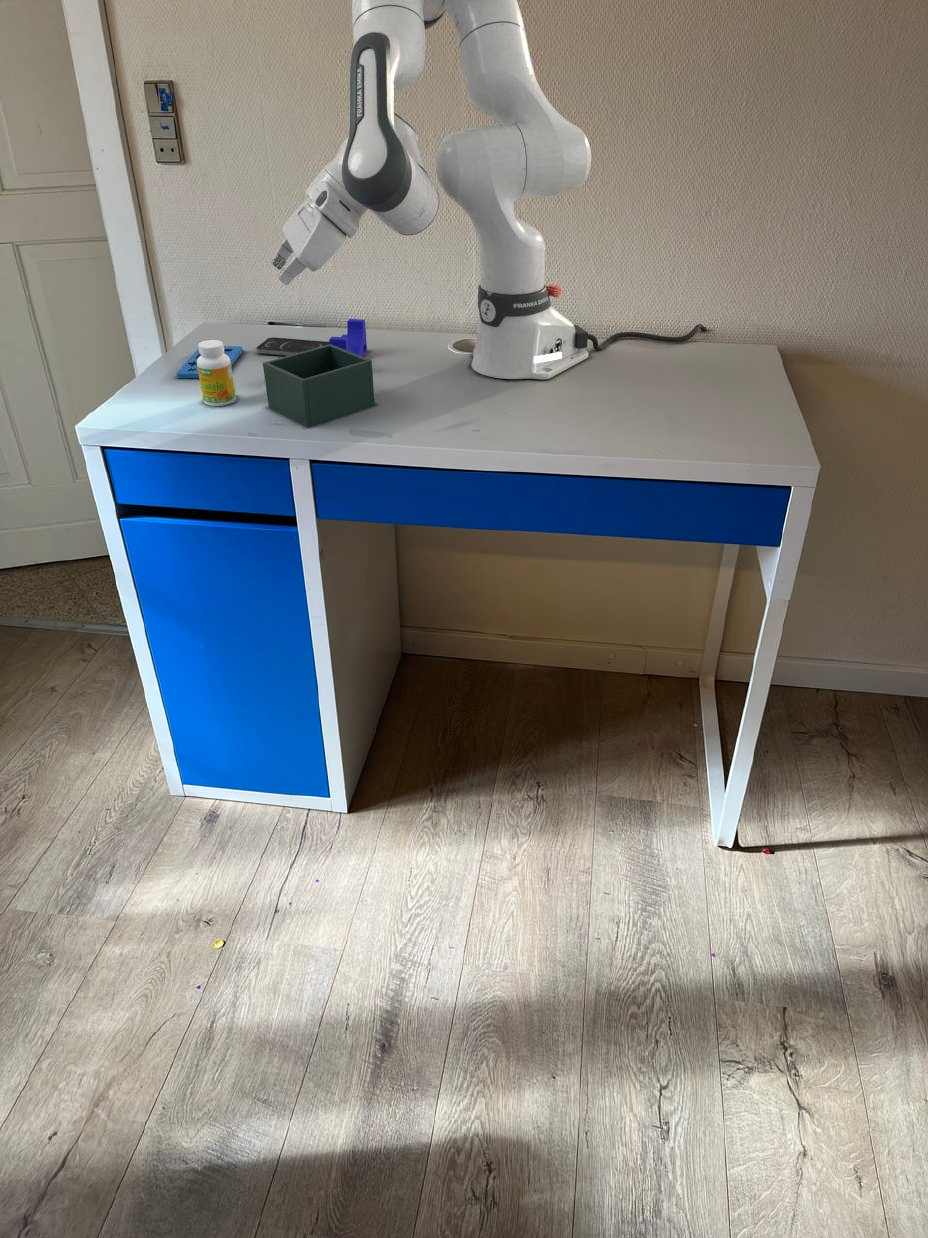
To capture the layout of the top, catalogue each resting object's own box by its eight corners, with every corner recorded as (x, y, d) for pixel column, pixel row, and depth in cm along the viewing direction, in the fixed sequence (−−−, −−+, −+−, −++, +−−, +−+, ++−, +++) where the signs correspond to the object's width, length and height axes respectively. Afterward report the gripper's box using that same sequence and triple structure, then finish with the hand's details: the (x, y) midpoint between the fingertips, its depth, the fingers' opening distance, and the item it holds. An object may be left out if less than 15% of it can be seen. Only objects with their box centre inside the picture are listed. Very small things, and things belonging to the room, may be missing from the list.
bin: (334, 387, 162) (330, 343, 157) (375, 405, 155) (371, 360, 150) (268, 407, 154) (262, 362, 150) (307, 427, 147) (302, 380, 143)
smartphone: (329, 355, 173) (253, 349, 175) (329, 360, 173) (254, 353, 176) (342, 342, 179) (269, 336, 181) (343, 347, 179) (270, 341, 182)
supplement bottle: (200, 407, 155) (189, 349, 149) (207, 395, 159) (197, 338, 154) (232, 406, 155) (223, 348, 149) (239, 394, 159) (230, 338, 154)
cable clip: (344, 349, 178) (341, 318, 174) (367, 351, 177) (365, 319, 173) (324, 371, 168) (321, 338, 165) (348, 373, 167) (345, 340, 164)
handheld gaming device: (175, 371, 165) (200, 344, 177) (176, 377, 166) (201, 349, 178) (221, 372, 165) (242, 344, 177) (222, 378, 165) (243, 350, 178)
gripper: (308, 177, 152) (255, 244, 156) (328, 202, 136) (269, 276, 140) (337, 204, 156) (285, 269, 160) (360, 232, 140) (302, 304, 143)
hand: (278, 273), depth 150 cm, fingers open, 8 cm apart
